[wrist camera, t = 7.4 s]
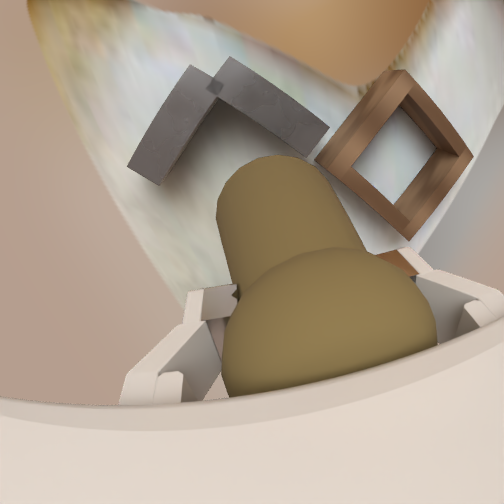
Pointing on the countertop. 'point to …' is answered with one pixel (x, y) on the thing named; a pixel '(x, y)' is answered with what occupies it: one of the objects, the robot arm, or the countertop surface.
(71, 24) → the countertop surface
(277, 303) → the cork
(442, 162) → the sleeve
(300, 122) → the v block
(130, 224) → the countertop surface
